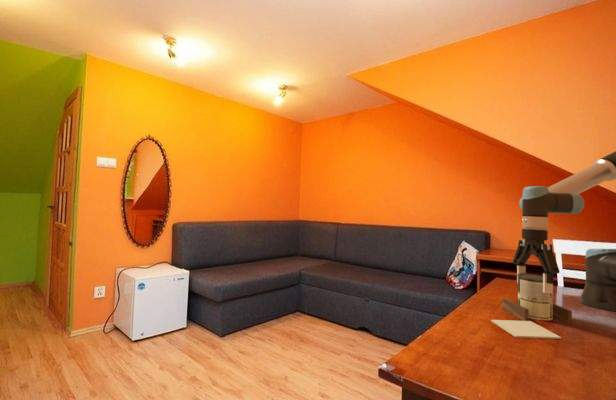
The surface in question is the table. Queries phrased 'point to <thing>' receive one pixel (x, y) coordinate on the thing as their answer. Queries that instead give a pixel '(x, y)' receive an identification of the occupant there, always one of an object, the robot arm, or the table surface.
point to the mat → (525, 329)
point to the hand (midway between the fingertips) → (533, 287)
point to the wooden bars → (524, 313)
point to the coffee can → (534, 296)
